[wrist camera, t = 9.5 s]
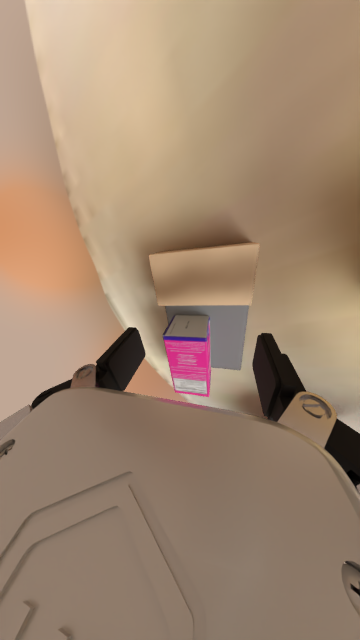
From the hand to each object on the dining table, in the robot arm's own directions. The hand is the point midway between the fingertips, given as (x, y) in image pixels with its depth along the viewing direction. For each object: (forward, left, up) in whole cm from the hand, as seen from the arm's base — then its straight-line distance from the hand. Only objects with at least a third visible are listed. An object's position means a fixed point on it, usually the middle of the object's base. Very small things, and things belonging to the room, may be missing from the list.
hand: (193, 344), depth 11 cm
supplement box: (+3, -2, -8) cm, 8 cm away
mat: (+7, 0, -11) cm, 13 cm away
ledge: (-3, 0, -11) cm, 12 cm away
